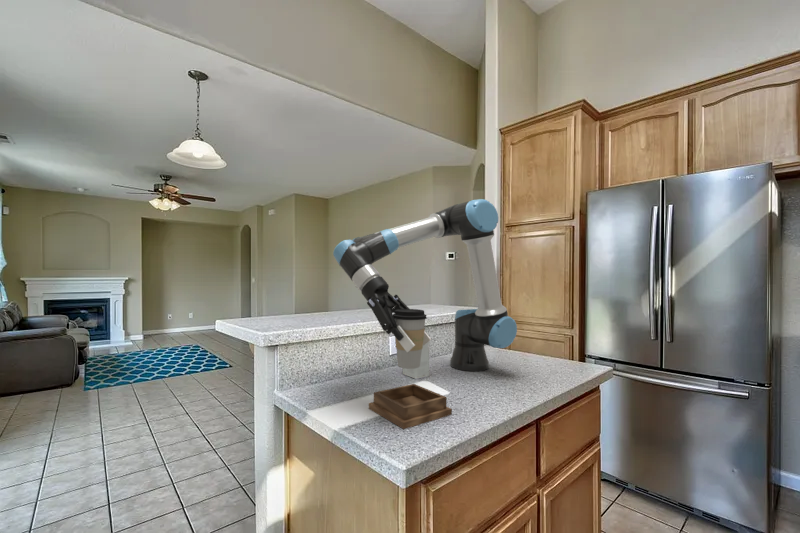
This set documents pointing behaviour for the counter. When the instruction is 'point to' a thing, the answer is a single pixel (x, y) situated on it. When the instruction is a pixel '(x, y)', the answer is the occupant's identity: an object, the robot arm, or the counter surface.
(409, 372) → the small box
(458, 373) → the counter surface
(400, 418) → the wooden tray
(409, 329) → the coffee cup
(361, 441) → the counter surface
